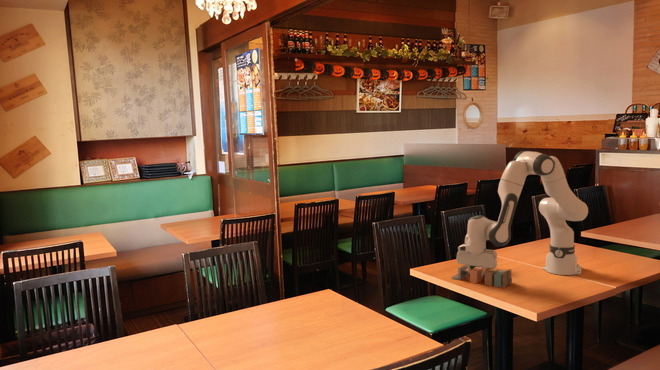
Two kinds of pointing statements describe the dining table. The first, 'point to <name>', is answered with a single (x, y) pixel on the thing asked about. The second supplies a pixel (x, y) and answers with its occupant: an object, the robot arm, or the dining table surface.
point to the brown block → (490, 277)
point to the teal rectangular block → (498, 278)
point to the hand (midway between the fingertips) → (476, 274)
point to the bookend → (460, 273)
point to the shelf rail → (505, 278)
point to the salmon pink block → (476, 274)
